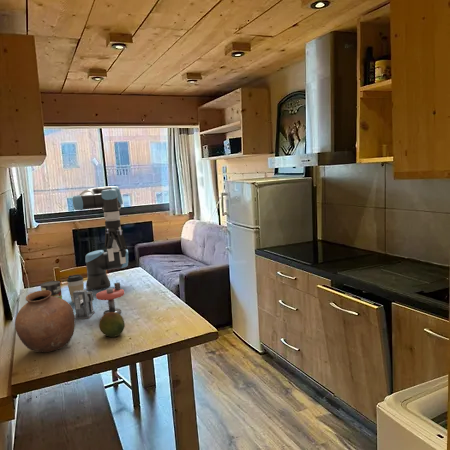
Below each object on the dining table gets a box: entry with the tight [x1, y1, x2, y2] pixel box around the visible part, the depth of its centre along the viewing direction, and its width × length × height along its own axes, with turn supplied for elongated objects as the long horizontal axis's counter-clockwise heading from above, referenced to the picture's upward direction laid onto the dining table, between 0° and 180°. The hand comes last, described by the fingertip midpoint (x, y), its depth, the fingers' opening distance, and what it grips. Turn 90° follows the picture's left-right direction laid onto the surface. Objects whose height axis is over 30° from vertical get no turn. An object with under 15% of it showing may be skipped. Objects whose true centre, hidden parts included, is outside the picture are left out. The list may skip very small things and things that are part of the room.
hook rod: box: [75, 290, 94, 309], centre depth 213 cm, size 18×3×7 cm, turn 0°
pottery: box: [14, 290, 76, 353], centre depth 171 cm, size 23×23×25 cm
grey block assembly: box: [73, 289, 95, 320], centre depth 212 cm, size 12×9×13 cm
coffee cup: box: [66, 274, 85, 303], centre depth 237 cm, size 9×9×15 cm
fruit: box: [98, 312, 126, 338], centre depth 182 cm, size 12×13×10 cm
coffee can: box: [40, 280, 63, 299], centre depth 228 cm, size 10×10×14 cm
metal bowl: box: [103, 299, 122, 316], centre depth 211 cm, size 9×9×9 cm
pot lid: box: [95, 282, 125, 301], centre depth 210 cm, size 14×14×5 cm
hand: (117, 262), depth 210 cm, fingers open, 11 cm apart
